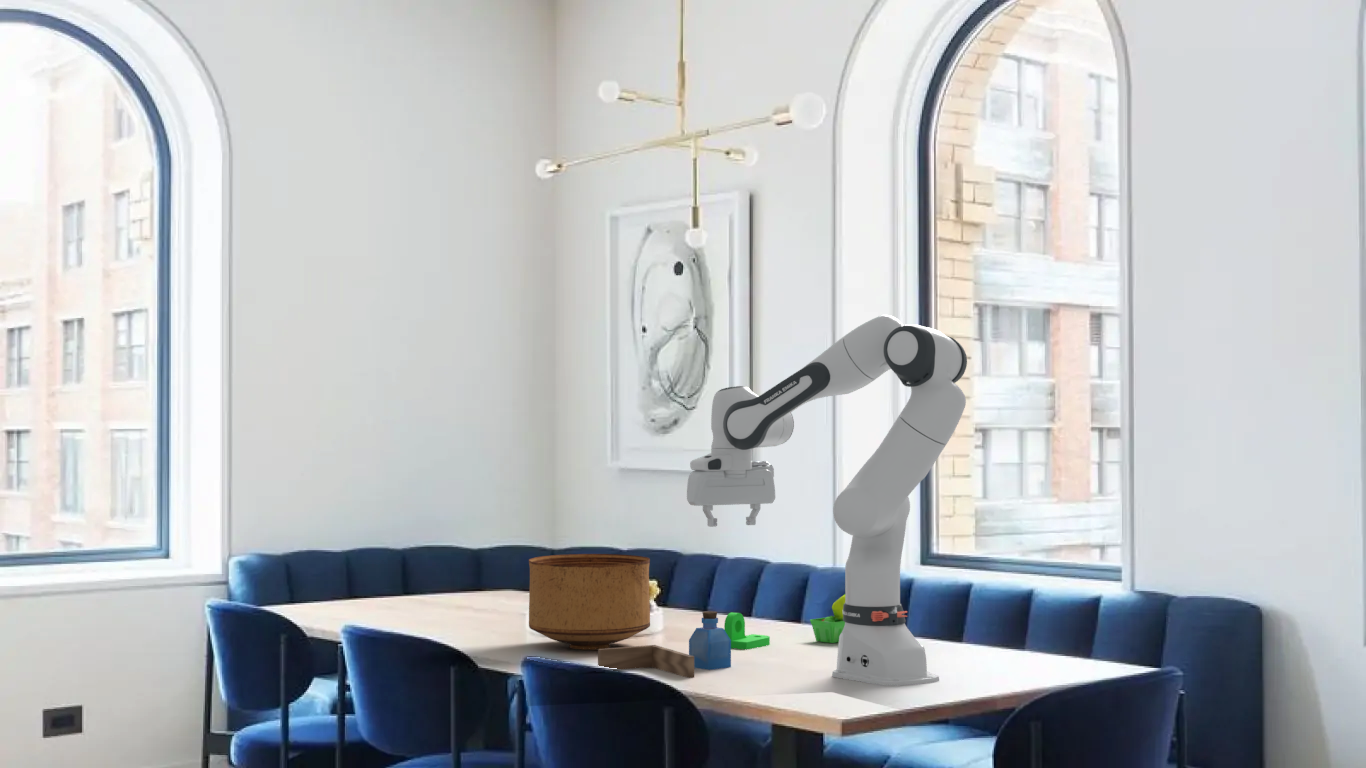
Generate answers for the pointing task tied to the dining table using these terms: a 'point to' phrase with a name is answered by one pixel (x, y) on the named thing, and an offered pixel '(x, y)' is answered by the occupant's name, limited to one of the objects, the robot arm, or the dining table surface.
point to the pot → (589, 598)
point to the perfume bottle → (710, 644)
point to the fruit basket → (830, 624)
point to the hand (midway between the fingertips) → (731, 525)
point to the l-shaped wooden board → (647, 659)
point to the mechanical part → (742, 633)
